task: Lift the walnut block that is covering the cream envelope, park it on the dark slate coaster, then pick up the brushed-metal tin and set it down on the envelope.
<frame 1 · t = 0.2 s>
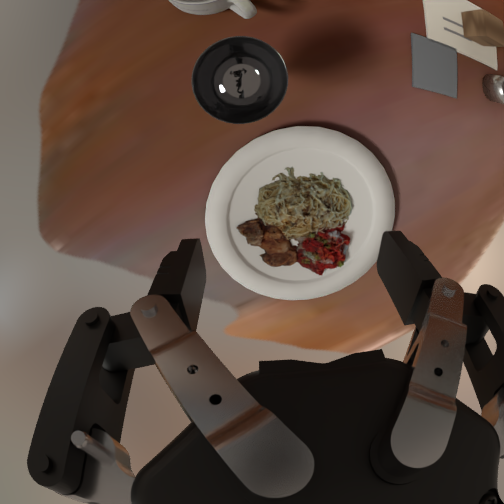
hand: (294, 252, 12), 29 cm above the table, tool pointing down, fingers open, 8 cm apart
walnut block: (472, 29, 22), resting on envelope
tin: (491, 87, 28), on the table
coaster: (435, 66, 28), on the table
wine glass: (244, 83, 32), on the table
envelope: (463, 25, 23), on the table
plated food: (303, 219, 44), on the table
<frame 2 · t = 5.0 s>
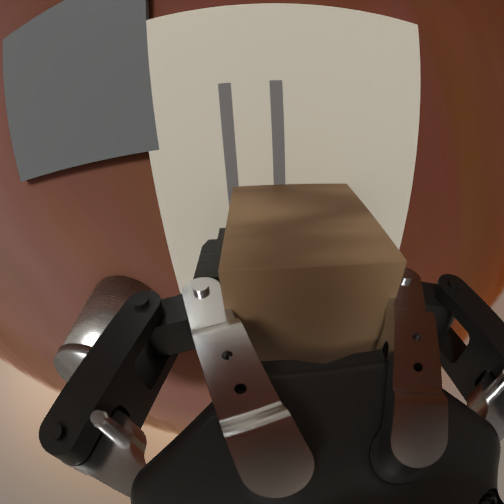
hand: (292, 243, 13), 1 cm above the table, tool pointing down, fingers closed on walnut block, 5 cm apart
walnut block: (291, 234, 13), resting on envelope, touching gripper
tin: (129, 307, 17), on the table
coaster: (67, 79, 9), on the table
envelope: (290, 191, 12), on the table
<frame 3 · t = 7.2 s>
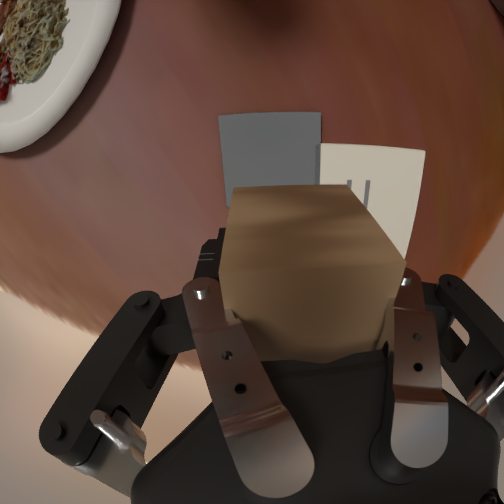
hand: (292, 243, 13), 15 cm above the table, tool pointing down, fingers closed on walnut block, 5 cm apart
walnut block: (291, 235, 13), point 14 cm above the table, touching gripper
coaster: (271, 159, 25), on the table
envelope: (365, 222, 29), on the table
plated food: (22, 33, 15), on the table
when the fingers open (2 cm above the table, at t = 9.9 s): walnut block drops 1 cm, resting on coaster.
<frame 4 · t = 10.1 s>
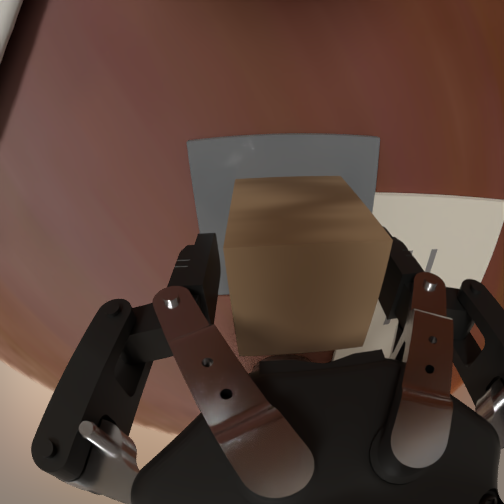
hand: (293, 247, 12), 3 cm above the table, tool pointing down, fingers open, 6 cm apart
walnut block: (289, 223, 14), resting on coaster
coaster: (287, 220, 14), on the table
envelope: (417, 303, 18), on the table
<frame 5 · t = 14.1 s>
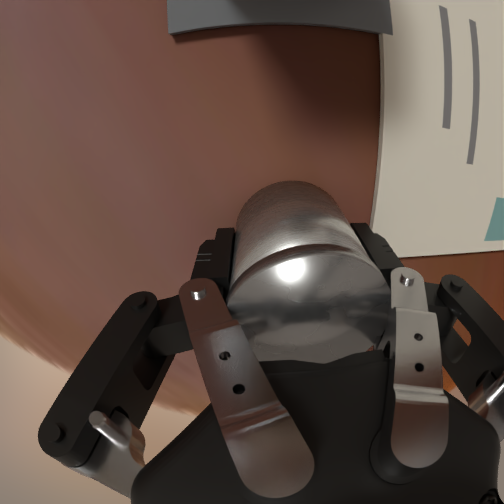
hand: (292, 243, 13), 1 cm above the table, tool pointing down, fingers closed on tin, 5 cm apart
tin: (290, 232, 13), on the table, touching gripper
envelope: (476, 109, 9), on the table
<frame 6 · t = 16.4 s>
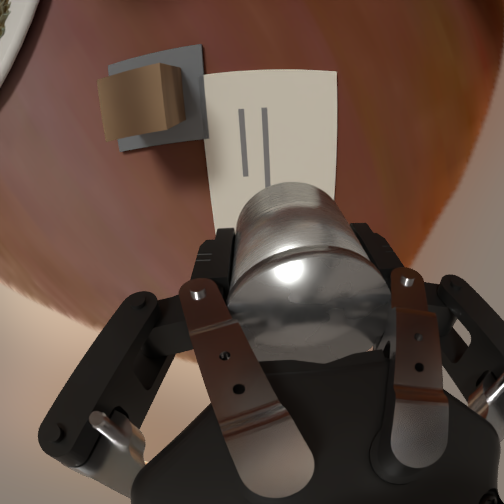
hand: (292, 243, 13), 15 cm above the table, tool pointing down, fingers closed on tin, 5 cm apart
walnut block: (156, 98, 21), resting on coaster
tin: (290, 233, 13), point 14 cm above the table, touching gripper
coaster: (157, 98, 22), on the table
envelope: (272, 159, 25), on the table
when the fingers open (3 cm above the table, at t = 19.0 s): tin drops 1 cm, resting on envelope.
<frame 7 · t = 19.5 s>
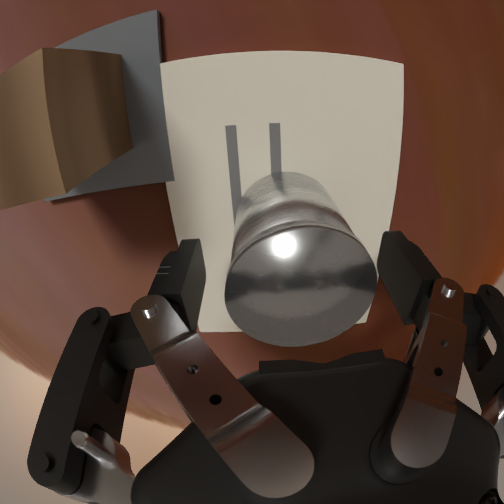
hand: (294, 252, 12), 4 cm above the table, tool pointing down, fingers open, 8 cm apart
walnut block: (84, 112, 11), resting on coaster
tin: (286, 219, 15), resting on envelope
coaster: (87, 111, 11), on the table
envelope: (286, 215, 15), on the table
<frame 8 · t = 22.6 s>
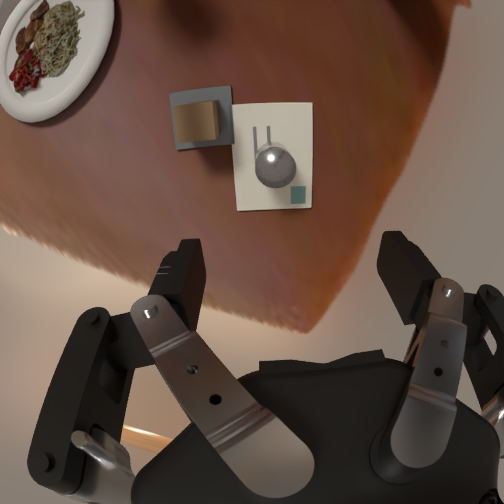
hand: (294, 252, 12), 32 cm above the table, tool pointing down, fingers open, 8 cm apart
walnut block: (202, 117, 37), resting on coaster
tin: (272, 158, 41), resting on envelope
coaster: (202, 117, 38), on the table
envelope: (272, 157, 41), on the table
plated food: (48, 43, 27), on the table
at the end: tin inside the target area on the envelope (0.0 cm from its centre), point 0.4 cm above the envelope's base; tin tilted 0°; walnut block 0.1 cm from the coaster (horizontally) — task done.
